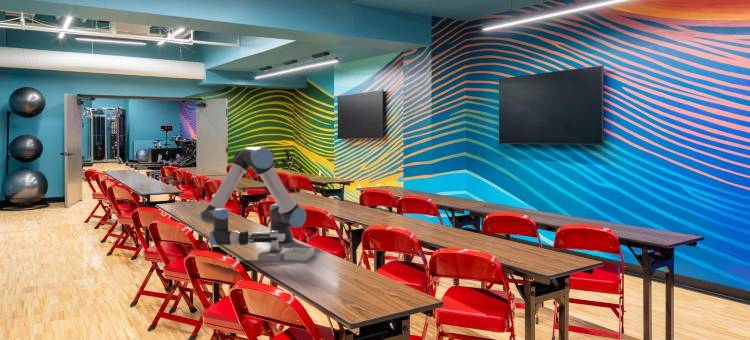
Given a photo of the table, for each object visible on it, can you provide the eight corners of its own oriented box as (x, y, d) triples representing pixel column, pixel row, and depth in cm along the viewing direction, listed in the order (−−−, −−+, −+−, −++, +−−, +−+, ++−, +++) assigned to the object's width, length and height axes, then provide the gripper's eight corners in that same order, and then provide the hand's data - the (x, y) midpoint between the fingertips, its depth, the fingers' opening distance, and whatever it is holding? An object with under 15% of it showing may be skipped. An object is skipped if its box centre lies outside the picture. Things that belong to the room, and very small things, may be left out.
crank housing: (269, 253, 267) (269, 244, 267) (290, 253, 266) (290, 244, 265) (257, 260, 252) (257, 251, 251) (280, 261, 250) (280, 252, 250)
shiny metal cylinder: (272, 256, 261) (271, 230, 260) (279, 256, 260) (279, 230, 259) (269, 258, 257) (268, 231, 256) (277, 258, 256) (276, 232, 255)
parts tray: (292, 254, 263) (292, 247, 263) (314, 255, 262) (314, 248, 261) (284, 261, 250) (283, 253, 249) (306, 262, 248) (306, 254, 247)
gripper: (244, 241, 266) (287, 240, 267) (235, 248, 249) (281, 248, 250) (243, 227, 266) (286, 227, 266) (235, 234, 249) (281, 233, 249)
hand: (284, 237), depth 258 cm, fingers closed on shiny metal cylinder, 4 cm apart
